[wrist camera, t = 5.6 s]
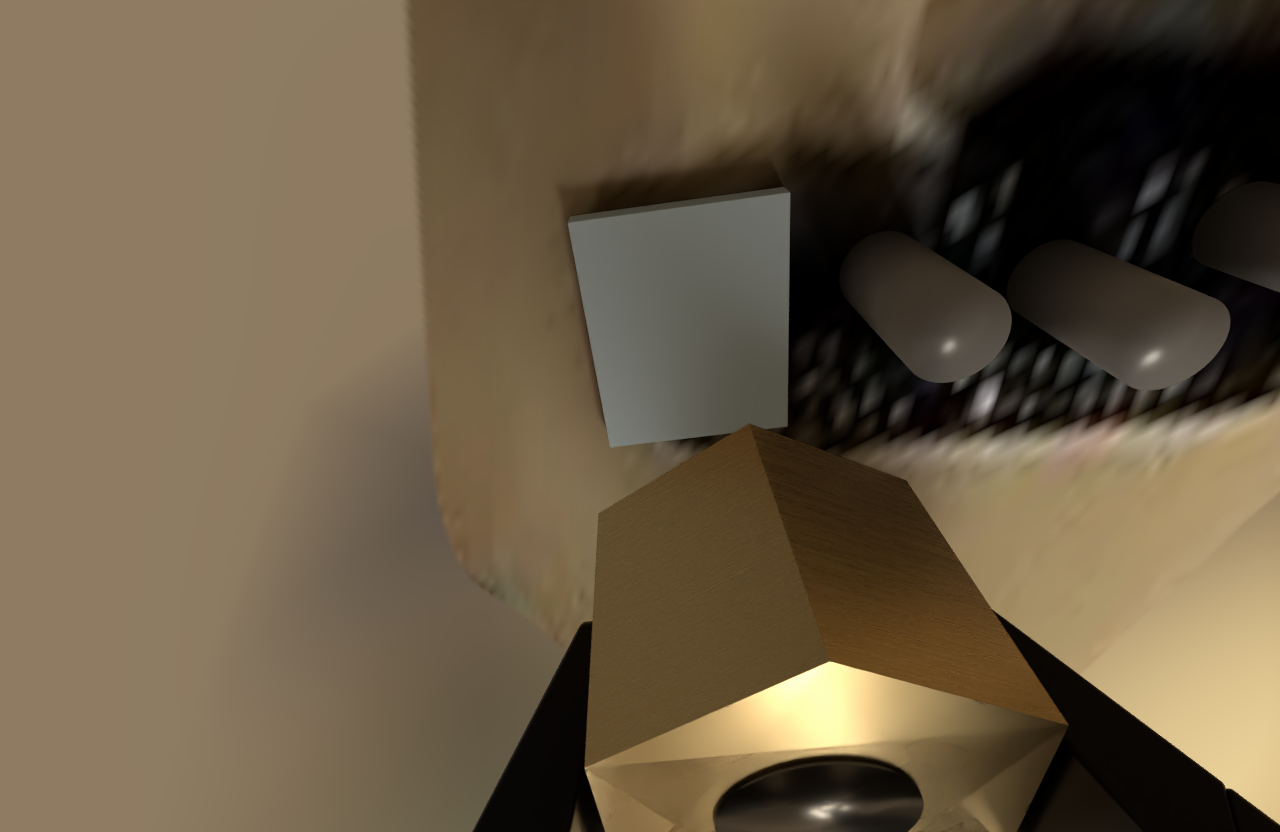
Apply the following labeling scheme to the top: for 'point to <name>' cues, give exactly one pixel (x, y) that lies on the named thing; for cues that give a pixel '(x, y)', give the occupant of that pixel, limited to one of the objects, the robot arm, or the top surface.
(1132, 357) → the spacer field
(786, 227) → the pad
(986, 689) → the hex nut
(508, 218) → the top surface
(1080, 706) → the robot arm
